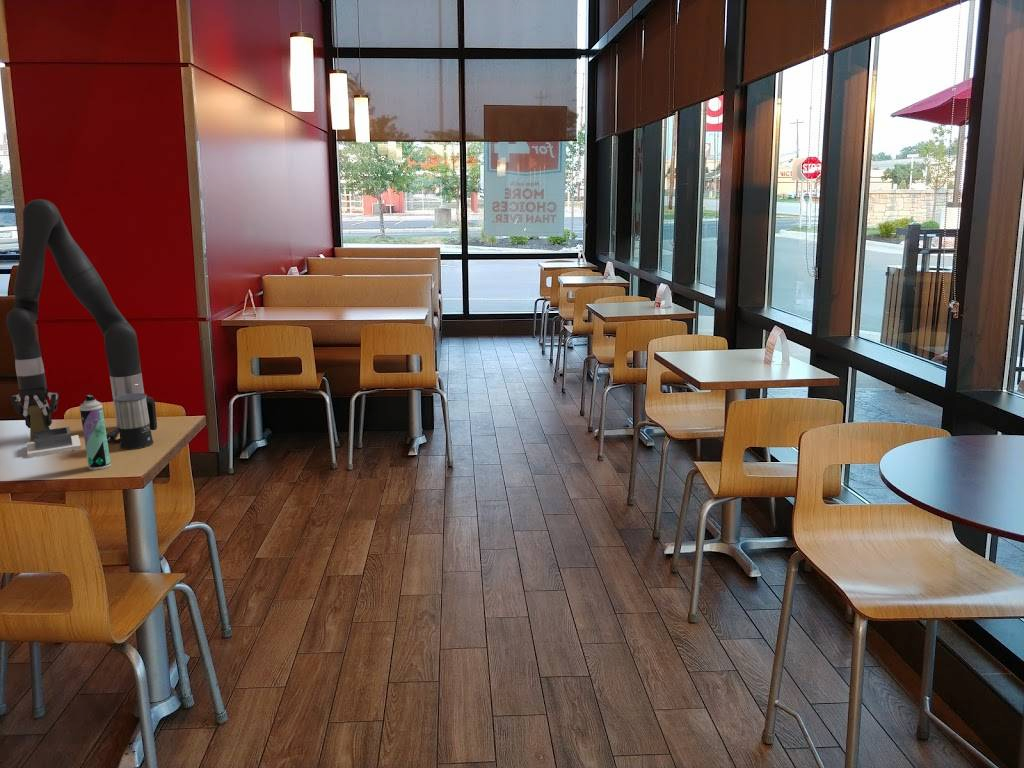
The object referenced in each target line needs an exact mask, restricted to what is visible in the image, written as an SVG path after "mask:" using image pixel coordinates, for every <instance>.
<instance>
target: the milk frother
mask: <svg viewBox="0 0 1024 768" xmlns="http://www.w3.org/2000/svg"><path fill="white" fill-rule="evenodd" d="M113 400H114V401H115V407H116V414H117V420H118V426H119V428H118V429H117V428H115V429H113V430H111V431H109V432H108V433H106V436H107V442H108V444H119V443H120V445H119V446H120V447H119V448H120V449H122V450H136V449H142V448H148V447H150V446H152V445H153V444H154V440H153V435H152V431H156V430H157V429H158V423H157V420H158V419H157V411H156V410H157V409H156V401H155V400H154V399H153V397H151V396H147V394H146V393H145V392H144V393H133V394H126V395H121V396H118V397H115V398H114V399H113V398H112V401H113ZM118 435H119V438H118Z"/></svg>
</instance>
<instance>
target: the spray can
mask: <svg viewBox="0 0 1024 768" xmlns="http://www.w3.org/2000/svg"><path fill="white" fill-rule="evenodd" d="M79 412H80V418H81V424H82V433H83V439H84V444H85V453H86V458H87V463H88V465H87V466H88V469H89V470H90V469H91V470H90V471H98V470H97V469H101V470H105V469H107V467H108V468H110V467H111V465H112V463H111V456H110V449H109V443H108V442H107V436H106V435H107V430H106V422H105V416H104V409H103V405H102V402H101V401H98V400H97V399H96V398H95V397H94V395H92V394H86V395H85V400H84V401H83V403H81V404H80V405H79ZM109 466H110V467H109ZM104 468H105V469H104Z"/></svg>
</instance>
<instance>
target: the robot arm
mask: <svg viewBox="0 0 1024 768" xmlns="http://www.w3.org/2000/svg"><path fill="white" fill-rule="evenodd" d="M21 243H22V245H21V252H20V258H19V261H18V265H17V271H16V274H15V275H16V276H15V280H14V286H13V295H14V302H13V307H12V310H10V311H9V312H8V313H7V316H6V326H7V330H8V333H9V336H10V337H9V338H10V339H11V342H12V346H13V347H12V349H13V353H14V360H15V361H14V362H15V366H14V367H15V372H16V379H17V385H18V390H19V392H18V394H15V395H12V396H10V398H9V399H10V402H11V403H12V406H13V408H14V411H15V413H16V414H17V415H18V416H23V417H24V421H25V422H24V423H25V426H26V427H27V428H28V429H30V415H29V414H28V412H27V409H28V407H29V406H31V405H38V406H39V408H40V409H42V410H43V414H44V422H45V427H49V428H50V426H51V425H52V423H53V420H52V415H51V414H53V413H55V412H57V410H58V403H59V396H60V395H59V393H58V392H50V391H49V389H48V387H47V380H46V379H47V378H46V374H45V373H46V372H45V368H44V367H45V366H44V362H43V358H42V351H41V347H40V343H39V340H38V339H37V338H36V334H35V328H34V326H35V325H36V323H37V320H38V317H39V316H38V315H39V305H40V303H39V302H40V299H39V298H40V295H41V290H42V285H43V280H44V272H45V261H46V258H45V257H46V252H47V251H46V249H47V247H48V249H49V250H50V253H51V254H52V257H53V260H54V262H55V265H56V267H57V268H58V271H59V273H60V274H61V277H62V279H63V280H64V282H65V283H66V285H67V286H68V288H69V289H70V291H71V293H72V294H73V295H74V297H75V298H76V300H78V301H79V302H80V304H81V305H83V307H84V308H85V309H86V310H87V312H89V314H90V315H91V316H92V317H93V319H94V321H95V322H96V324H97V326H98V328H99V329H100V332H101V333H102V336H103V337H104V338H103V339H104V347H105V355H106V361H107V367H108V372H109V373H108V374H109V380H110V385H111V394H112V401H113V408H114V413H115V415H114V416H115V423H116V427H117V428H116V429H118V428H119V426H118V420H117V414H116V407H115V401H114V400H113V399H114V398H115V397H118V396H121V395H126V394H133V393H144V394H145V389H144V381H143V375H142V367H141V359H140V351H139V344H138V337H137V332H136V331H135V328H133V326H132V325H131V324H130V323H129V322H128V321H127V319H126V318H125V317H124V315H123V314H122V313H121V312H120V310H119V309H118V308H117V306H116V304H115V303H114V301H113V298H112V297H111V295H110V293H109V291H108V288H107V287H106V284H105V283H104V282H103V280H102V278H101V276H100V274H99V273H98V271H97V269H96V268H95V267H94V265H93V264H92V262H91V260H90V259H89V258H88V256H87V254H85V252H84V250H83V249H82V248H81V247H80V246H79V244H78V243H77V242H76V241H75V240H74V238H73V236H72V234H71V233H70V232H69V229H68V227H67V226H66V224H65V221H64V220H63V217H62V216H61V213H60V211H59V209H58V207H57V206H56V205H55V204H54V203H53V202H51V201H49V200H48V199H44V198H43V199H42V198H41V199H40V198H39V199H34V200H31V201H29V202H28V203H26V205H25V206H24V208H23V209H22V242H21ZM48 398H49V400H50V403H48V400H47V399H48ZM21 400H22V401H23V402H24V403H23V404H22V403H21ZM43 404H44V405H43Z"/></svg>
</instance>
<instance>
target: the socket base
mask: <svg viewBox="0 0 1024 768" xmlns="http://www.w3.org/2000/svg"><path fill="white" fill-rule="evenodd" d="M71 439H72V445H69V446H63V447H56V448H50V449H43V450H37V451H36V449H35V443H34V441H30V442H26V454H27V458H28V457H30V458H35V457H34V456H37V457H43V456H48V455H54V454H61V452H62V453H67V452H66V451H68V452H73V451H72V450H75V451H79V450H78V449H81V450H83V449H82V443H81V440H80V436H79V434H75V435H71Z"/></svg>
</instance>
